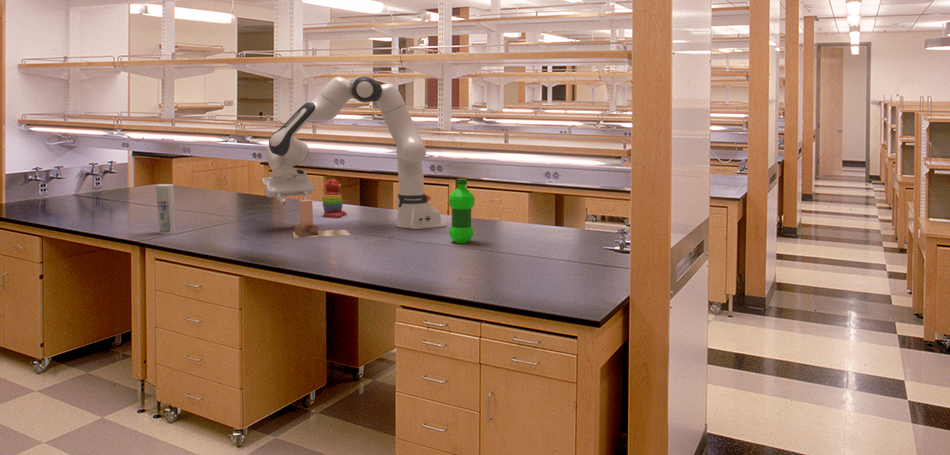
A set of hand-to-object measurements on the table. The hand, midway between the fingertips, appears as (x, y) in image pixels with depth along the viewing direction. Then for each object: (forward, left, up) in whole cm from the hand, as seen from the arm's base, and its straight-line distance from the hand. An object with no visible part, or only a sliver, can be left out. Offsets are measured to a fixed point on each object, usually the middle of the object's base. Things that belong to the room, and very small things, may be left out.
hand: (294, 202), depth 291 cm
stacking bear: (-21, -40, -13) cm, 47 cm away
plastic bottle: (-62, +35, -13) cm, 72 cm away
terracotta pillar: (-4, +10, -8) cm, 13 cm away
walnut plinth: (-4, +10, -12) cm, 16 cm away
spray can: (+50, -15, -13) cm, 54 cm away
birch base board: (-10, +9, -13) cm, 19 cm away
